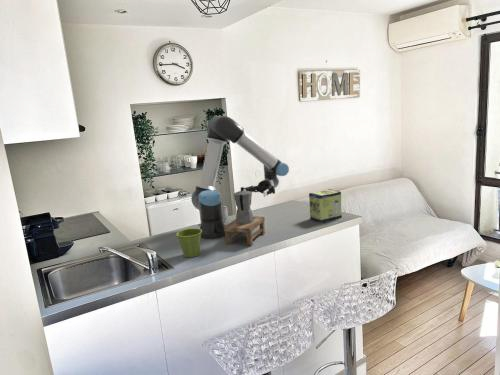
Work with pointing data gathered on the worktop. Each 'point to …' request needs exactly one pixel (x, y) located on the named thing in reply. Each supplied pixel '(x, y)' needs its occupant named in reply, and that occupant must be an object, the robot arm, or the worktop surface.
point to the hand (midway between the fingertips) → (252, 194)
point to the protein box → (325, 205)
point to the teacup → (224, 213)
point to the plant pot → (190, 241)
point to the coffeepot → (243, 206)
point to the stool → (244, 230)
